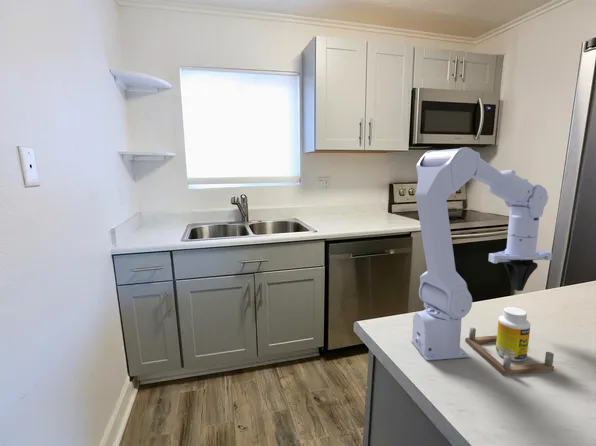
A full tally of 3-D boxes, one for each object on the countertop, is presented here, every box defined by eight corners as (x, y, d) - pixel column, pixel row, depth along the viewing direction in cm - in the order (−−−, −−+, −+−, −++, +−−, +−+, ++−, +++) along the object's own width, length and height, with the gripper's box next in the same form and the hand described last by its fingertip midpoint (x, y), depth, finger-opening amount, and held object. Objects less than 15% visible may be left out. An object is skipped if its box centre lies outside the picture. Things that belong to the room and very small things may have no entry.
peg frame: (502, 375, 60) (504, 359, 60) (465, 341, 72) (466, 327, 71) (553, 371, 61) (555, 355, 60) (508, 338, 73) (509, 324, 72)
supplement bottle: (519, 366, 63) (524, 319, 61) (490, 353, 67) (494, 309, 66) (531, 356, 66) (536, 312, 64) (502, 344, 70) (506, 302, 69)
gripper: (536, 230, 77) (531, 281, 80) (481, 233, 76) (478, 284, 79) (562, 236, 70) (556, 292, 73) (502, 239, 69) (497, 296, 72)
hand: (517, 289), depth 75 cm, fingers closed
